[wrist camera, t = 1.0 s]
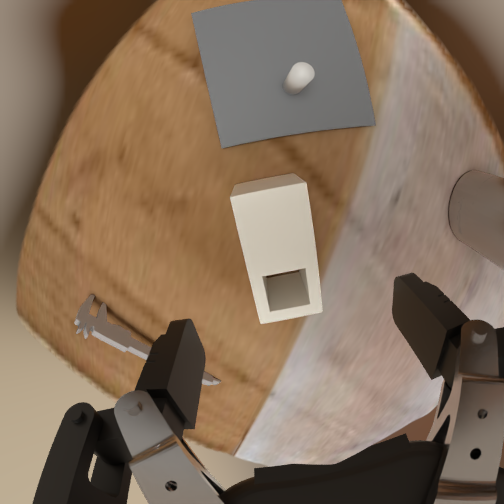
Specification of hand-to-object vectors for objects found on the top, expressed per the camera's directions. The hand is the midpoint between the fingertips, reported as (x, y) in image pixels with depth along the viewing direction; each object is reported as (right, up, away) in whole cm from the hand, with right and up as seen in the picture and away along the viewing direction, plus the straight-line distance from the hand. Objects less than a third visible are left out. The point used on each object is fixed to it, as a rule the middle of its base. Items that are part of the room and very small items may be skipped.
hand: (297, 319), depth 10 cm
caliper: (-14, -9, +22) cm, 28 cm away
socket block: (+1, +4, +16) cm, 17 cm away
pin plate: (+1, +19, +10) cm, 22 cm away
